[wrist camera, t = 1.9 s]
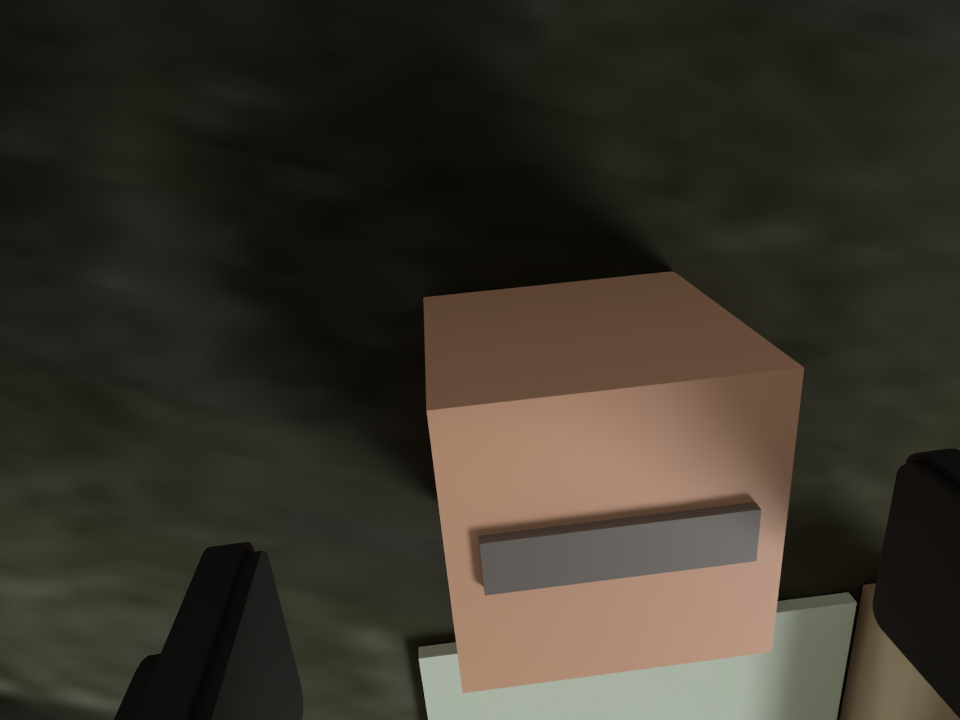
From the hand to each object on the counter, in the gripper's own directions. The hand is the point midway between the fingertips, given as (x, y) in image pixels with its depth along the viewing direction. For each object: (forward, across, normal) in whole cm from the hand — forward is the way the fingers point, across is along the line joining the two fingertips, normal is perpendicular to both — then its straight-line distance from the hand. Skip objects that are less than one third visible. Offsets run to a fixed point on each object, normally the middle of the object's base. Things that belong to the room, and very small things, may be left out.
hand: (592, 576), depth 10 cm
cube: (+6, -1, 0) cm, 6 cm away
